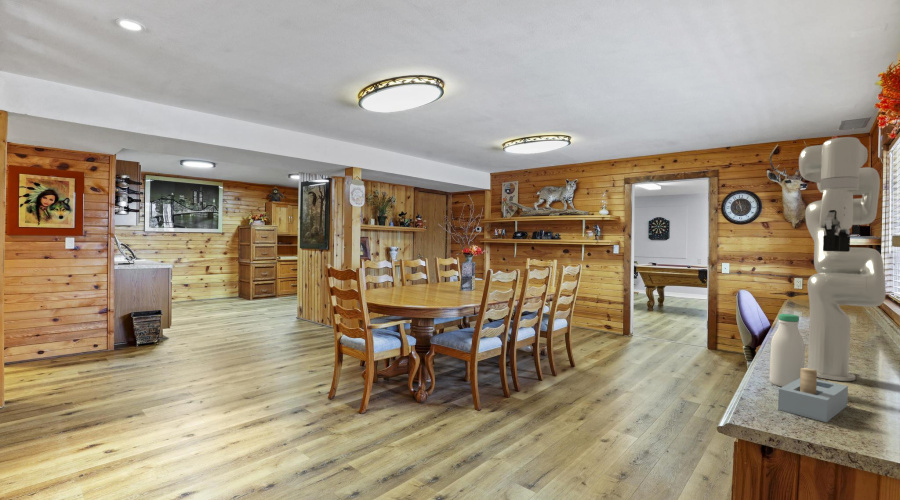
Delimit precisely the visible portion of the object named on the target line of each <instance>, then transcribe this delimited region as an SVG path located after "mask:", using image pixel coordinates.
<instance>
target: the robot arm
mask: <svg viewBox="0 0 900 500" xmlns="http://www.w3.org/2000/svg"><path fill="white" fill-rule="evenodd" d="M868 156H869V154H868V149H867V147H865V145H864V144H862V143H861V141H860V139H859V138H858V137H854V136H847V137H846V136H844V137H836V138H831V139H828V140H826V141H824V142H823V144H819V145H811V146H806V147H804V149H802V150H801V152H800V154H799V156H798V168H799V169H798V170H799V173H800V176H801V177H802V178H803V179H805V181H809V182H813V183H816V187H817V190H818V191H819V193H821V194H822V197H821V200H820V199H819V200H815V201H813V202H811V203H809V204H808V205H807V206H806V207H805V208H806V209H805V212H804V213H805V215H804V216H805V224H806V227H807V230H808V232H809V234H810V236H811V238H812V239H813V244H814V251H813V264H814V265H813V266H814V269H815V272H816V273H814V274H812V275H811V276H810V277H808V278H807V284H806V285H807V287H806V288H807V294H808V301H809V325H808V326H809V329H808V330H809V331H808V350H807V351H808V355H807V356H808V357H807V365H804V368H809V369H814V370H816V371H817V378H820V379H826V380H831V381H839V382H840V381H841V382H852V381H855V380H856V374H854V373H852V372H849V370H850V367H849V366H850V349H851V348H850V346H851V344H850V343H851V319H850V317H849V315H848V314H847V313H846V312H845V311H844V310H843V309H842V308H841V307H840V306H851V307H852V306H854V307H867V308H874V307H875V308H876V307H879V306H881V305H882V304H883V303H884V302H885V301H886V296H887V295H886V292H887V291H886V281H885V270H884V261H883V257H882V254H881V253H880V252H879V251H878V250H877V249H874V248H870V247H850V246H851V231H850V229H851V228H852V227H853V225H855V226H856V225H857V226H858V225H859V226H860V225H862V226H863V225H864V226H865V225H869V224H871V223H873V222H875V219H876V217H877V213H878V212H877V211H878V205H879V196H880V187H881V182H880V181H881V177H880V174H879V172H878V171H877V170H876V169H875V168H874V167H868V166H867V167H866V166H865V167H864V165H865V164H866V163H867V161H868ZM854 196H861V198H854Z"/></svg>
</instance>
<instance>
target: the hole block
mask: <svg viewBox="0 0 900 500" xmlns="http://www.w3.org/2000/svg"><path fill="white" fill-rule="evenodd" d="M848 394H849V385H844V384H841V383H836V382H831V381H826V380H821V379H817V387H816V395H813V394H809V393H805V392H800V378H799V379H797V380H795V381H793V382H791V383H789V384H787V385H785V386H783V387H781V386H780V388H778V401H777V402H778V403H777V410H778V411H782V412H786V413H789V414H794V415H796V416H800V417H805V418H808V419H813V420H816V421H820V422H822V423H828V422H829V421H830V420H831V419H832V418H834V417H835V416H837V415H838V414H839V413H840V412H842V411H843V410H844V409H845V408H847V407H848V397H849V396H848Z"/></svg>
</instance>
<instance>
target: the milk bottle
mask: <svg viewBox="0 0 900 500" xmlns="http://www.w3.org/2000/svg"><path fill="white" fill-rule="evenodd" d="M777 318H778V323H779V324H778V327H777V330H776V331H775V332H774V334H773V336H772V338H771V342H770V343H771V344H770V356H769V382H770V383H771V384H773V385H775V386H778V387H780V388H781V387H783V386H785V385H787V384H789V383H791V382H793V381H795V380H797V379H799V378H800V370H801V368H804V366H805V354H806V350H805V349H806V347H805V341H804V339H803V337H802V335H801V333H800V330H799V327H798V326H799V325H798V324H800V323H799V321H800V316H799V315H796V314H790V313H779V314H778V317H777Z"/></svg>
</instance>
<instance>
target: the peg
mask: <svg viewBox="0 0 900 500" xmlns="http://www.w3.org/2000/svg"><path fill="white" fill-rule="evenodd" d="M817 380H818V377H817V371H816V370H814V369H809V368H801V370H800V392H805V393H809V394H813V395H816V387H817Z"/></svg>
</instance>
